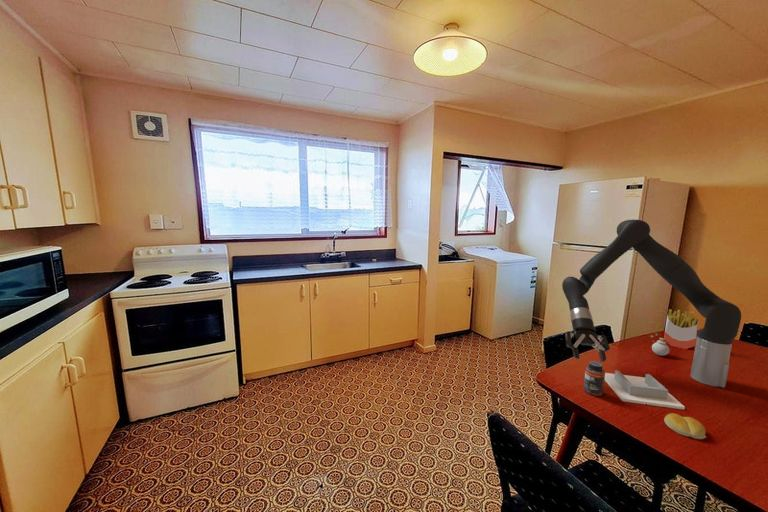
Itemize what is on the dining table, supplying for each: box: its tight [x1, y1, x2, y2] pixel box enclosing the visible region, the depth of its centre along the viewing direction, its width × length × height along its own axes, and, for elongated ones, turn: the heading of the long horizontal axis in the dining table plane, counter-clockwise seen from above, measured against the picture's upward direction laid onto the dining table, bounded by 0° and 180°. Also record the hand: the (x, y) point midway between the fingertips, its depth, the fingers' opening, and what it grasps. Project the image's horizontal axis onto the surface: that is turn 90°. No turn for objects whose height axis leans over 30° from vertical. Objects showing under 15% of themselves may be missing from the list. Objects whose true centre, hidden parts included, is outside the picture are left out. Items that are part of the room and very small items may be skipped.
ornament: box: [650, 333, 670, 356], centre depth 139 cm, size 6×7×10 cm
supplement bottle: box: [583, 360, 606, 397], centre depth 110 cm, size 6×6×11 cm
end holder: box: [604, 369, 686, 411], centre depth 111 cm, size 18×18×4 cm
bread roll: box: [663, 412, 707, 440], centre depth 92 cm, size 8×9×4 cm
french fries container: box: [663, 309, 699, 350], centre depth 147 cm, size 5×11×18 cm, turn 47°
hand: (590, 360), depth 114 cm, fingers open, 8 cm apart
